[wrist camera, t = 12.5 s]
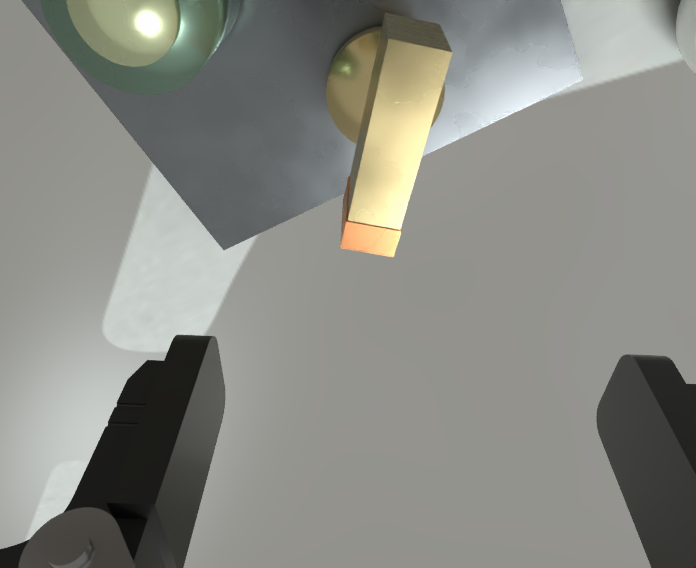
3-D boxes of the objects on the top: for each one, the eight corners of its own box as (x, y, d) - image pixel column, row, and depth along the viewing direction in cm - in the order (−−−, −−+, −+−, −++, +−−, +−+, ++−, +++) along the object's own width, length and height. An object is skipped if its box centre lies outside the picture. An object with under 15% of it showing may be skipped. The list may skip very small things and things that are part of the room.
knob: (343, -18, 22) (336, 27, 16) (466, 9, 23) (503, 63, 17) (314, 155, 27) (300, 240, 21) (417, 175, 28) (432, 264, 22)
